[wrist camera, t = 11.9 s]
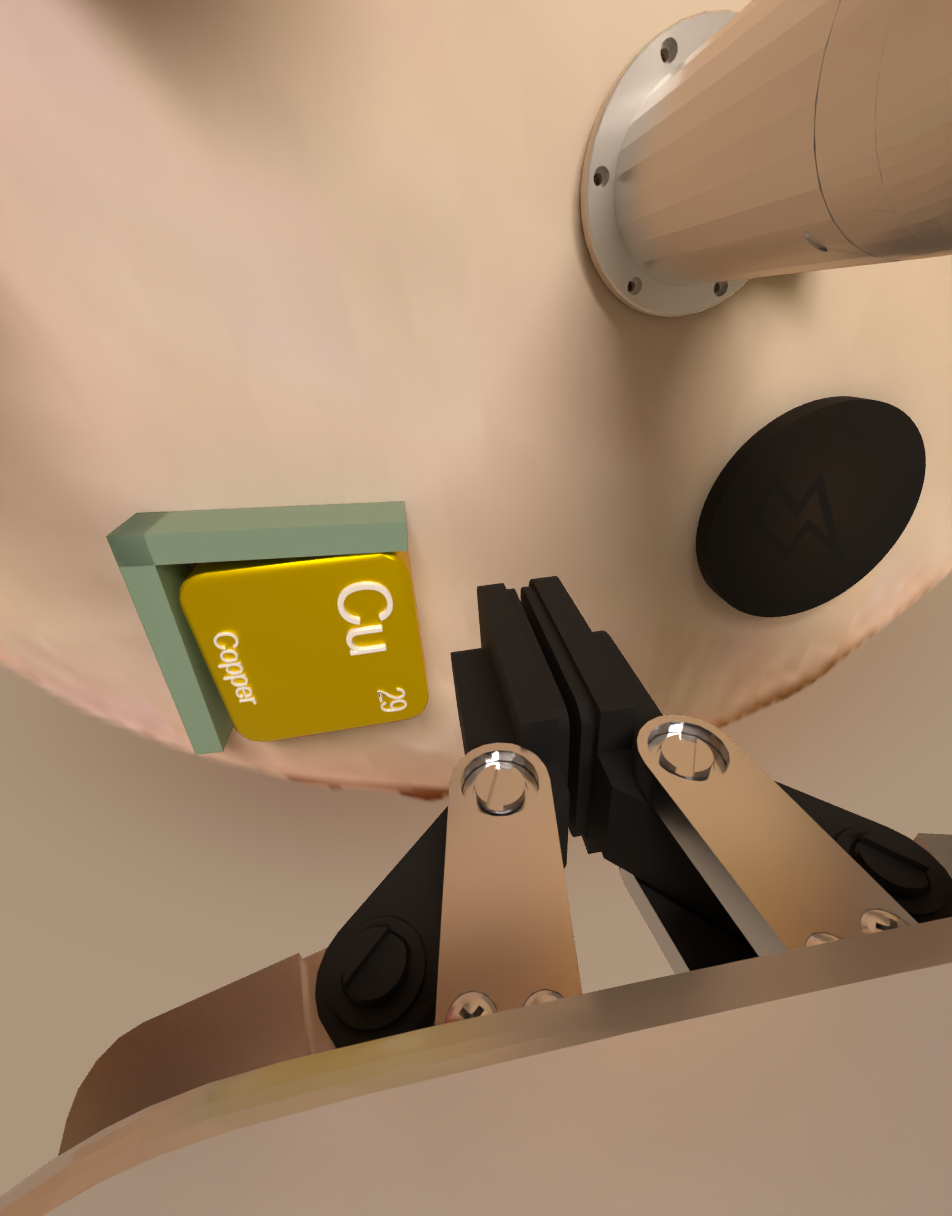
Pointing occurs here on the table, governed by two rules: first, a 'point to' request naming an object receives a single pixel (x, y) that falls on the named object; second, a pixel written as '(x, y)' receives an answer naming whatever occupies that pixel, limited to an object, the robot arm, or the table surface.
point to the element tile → (309, 641)
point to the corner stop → (172, 539)
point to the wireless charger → (810, 505)
